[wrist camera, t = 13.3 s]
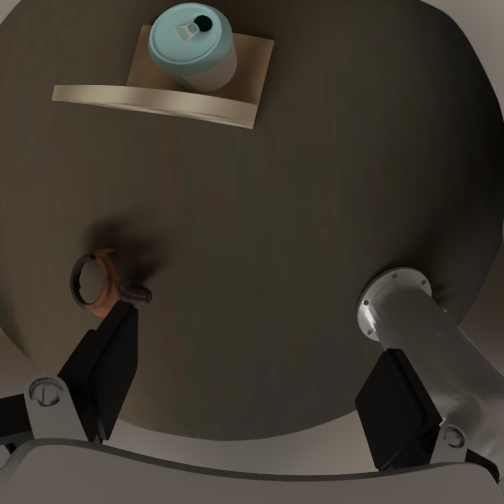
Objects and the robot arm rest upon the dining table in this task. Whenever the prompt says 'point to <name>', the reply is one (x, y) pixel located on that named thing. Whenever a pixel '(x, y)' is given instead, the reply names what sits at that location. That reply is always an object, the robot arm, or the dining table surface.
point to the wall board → (183, 87)
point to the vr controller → (108, 285)
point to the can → (194, 46)
